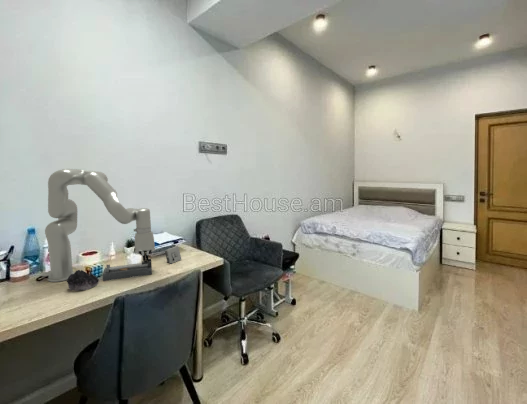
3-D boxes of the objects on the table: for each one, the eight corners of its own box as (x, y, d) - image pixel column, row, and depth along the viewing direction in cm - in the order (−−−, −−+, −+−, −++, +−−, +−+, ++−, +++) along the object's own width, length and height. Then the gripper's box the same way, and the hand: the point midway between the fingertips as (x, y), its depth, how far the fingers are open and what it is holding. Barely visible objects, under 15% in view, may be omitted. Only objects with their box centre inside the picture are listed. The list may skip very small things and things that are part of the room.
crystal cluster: (96, 280, 146) (93, 262, 145) (102, 285, 136) (98, 266, 135) (66, 289, 137) (62, 270, 136) (70, 296, 127) (66, 276, 126)
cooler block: (103, 281, 143) (102, 268, 142) (105, 275, 151) (104, 263, 150) (151, 274, 152) (151, 262, 151) (151, 269, 160) (151, 257, 160)
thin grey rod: (106, 271, 145) (105, 267, 145) (106, 269, 148) (106, 265, 148) (149, 265, 154) (149, 261, 154) (149, 263, 157) (149, 260, 157)
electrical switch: (170, 264, 169) (169, 249, 168) (164, 263, 172) (163, 249, 171) (181, 260, 177) (180, 246, 177) (176, 259, 180) (174, 245, 179)
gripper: (128, 233, 146) (131, 265, 148) (158, 230, 152) (160, 261, 154) (129, 230, 153) (131, 261, 155) (157, 227, 159) (159, 257, 161)
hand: (145, 261), depth 154 cm, fingers closed
